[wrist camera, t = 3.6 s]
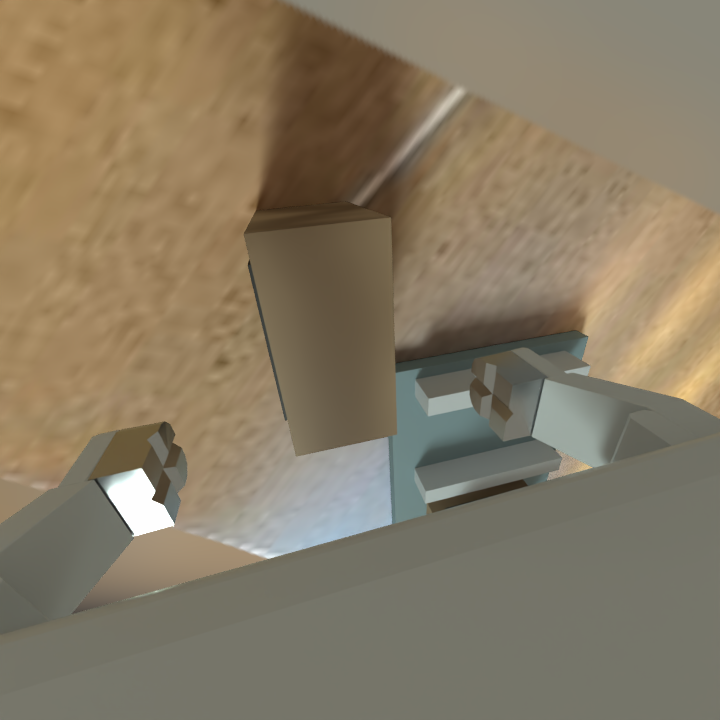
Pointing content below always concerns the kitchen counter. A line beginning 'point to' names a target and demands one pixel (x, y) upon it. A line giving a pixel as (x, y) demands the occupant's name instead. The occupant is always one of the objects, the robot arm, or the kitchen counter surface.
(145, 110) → the kitchen counter surface
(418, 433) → the teal board with ridges
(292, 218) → the brown box
